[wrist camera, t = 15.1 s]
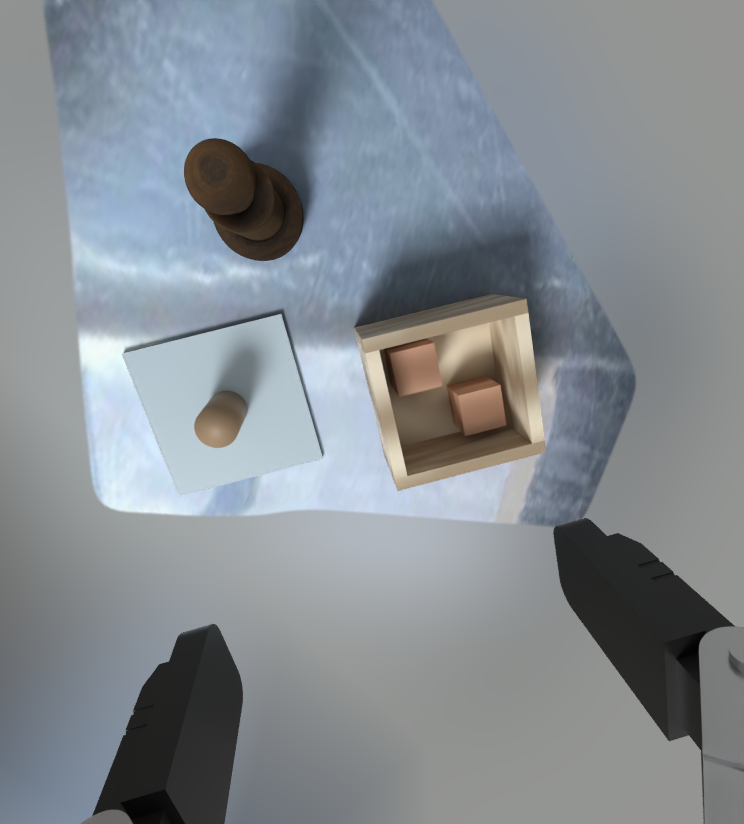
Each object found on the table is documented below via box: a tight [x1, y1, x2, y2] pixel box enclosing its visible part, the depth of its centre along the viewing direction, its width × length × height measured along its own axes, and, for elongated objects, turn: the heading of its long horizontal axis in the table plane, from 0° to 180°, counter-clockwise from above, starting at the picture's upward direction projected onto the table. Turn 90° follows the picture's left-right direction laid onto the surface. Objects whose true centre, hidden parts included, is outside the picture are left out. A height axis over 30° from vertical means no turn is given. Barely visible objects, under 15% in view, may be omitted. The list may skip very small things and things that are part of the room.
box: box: [354, 294, 546, 491], centre depth 39 cm, size 12×12×7 cm
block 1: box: [384, 338, 442, 397], centre depth 39 cm, size 4×4×4 cm
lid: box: [122, 314, 323, 496], centre depth 39 cm, size 13×13×6 cm
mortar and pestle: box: [184, 138, 303, 261], centre depth 29 cm, size 7×6×18 cm
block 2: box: [447, 376, 506, 436], centre depth 41 cm, size 4×4×4 cm
